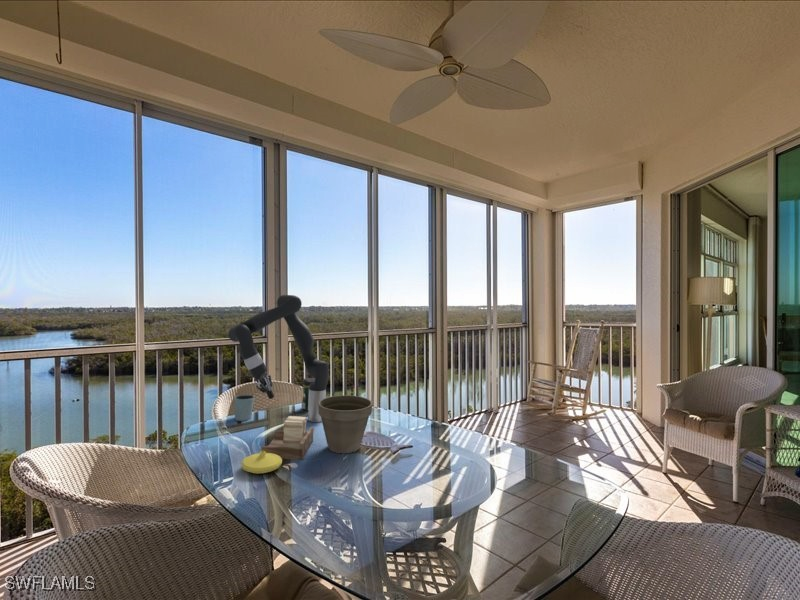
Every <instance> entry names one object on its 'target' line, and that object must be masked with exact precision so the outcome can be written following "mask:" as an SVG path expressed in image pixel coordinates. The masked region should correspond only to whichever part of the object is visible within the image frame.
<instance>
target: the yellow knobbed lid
mask: <svg viewBox="0 0 800 600" xmlns="http://www.w3.org/2000/svg"><path fill="white" fill-rule="evenodd" d="M282 463H283V459H281V457H280V456H278V455H276V454H273V453H265V451H261V450H260V451H259V453H258V452H257V453H254V454H251V455H250V454H249V455H247V456H246V457H245V458H244V459H243V460H242V461H241V463H240V464H241V467H242V470H244V471H246V472H248V473H251V474H256V475H257V474H258V475H259V474H260V475H261V474H267V473H270V472H273V471H276V470H277V469H279V468H280V467H281V466H282Z"/></svg>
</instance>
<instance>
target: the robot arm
mask: <svg viewBox="0 0 800 600" xmlns="http://www.w3.org/2000/svg"><path fill="white" fill-rule="evenodd" d="M276 303H277V304H276V305H277V306H275V307H273V308H271V309H267V310H265V311H262V312H259V313H257V314H255V315H254V316H252V317H250V318H248V319H247V320H245V321H243V322H240V323H239V324H237V325H235V326H233V327H231V328H230V329H229V331H228V332H227V333H228V334H227V335H228V339H229V340H230V341H232V342H233V343H234V342H235V343H238V342H239V345H240V347H239V348H238V351H239V354H240V356H241V358H242V359H243V361H244V365H245V367H246V369H247V371H248V372H249V374H250V377H251V378H253V379H254V378H255V379H256V381H255V382H256V383H257V384H256V389H257V390H259V391H260V392H262V393H263V394H264V393H265V394H266V395H267V397H268V399H269V400H272V399H274V398H275V394H274V392H273V389H272V387H273V381H272V377H271V374H269V375H268V373H267V372H268V368H267V366H266V364H265V362H264V360H263V358H262V357H261V355H260V354H259V352H258V350H257V348H256V346H255V343H254V338H253V334H254V333H257V332H258V331H261V330H262V329H264V328H265V327H267V326H269V325H270V324H272V323H275V322H277V321H278V320H279V321H280V320H281V319H284V321H285V323H286V325H287V326H288V329H289V331H290V333H291V335H292V337H293V339H294V340H293V341H294V342H295V344H296V346H297V348H298V350H299V352H300V355H301V358H302V360H303V363H304V365H305V369H306V372H307V373H308V374H309V376H311V377H313V378H315V382H314V383H311V384H310V385H309V401H308V410H307V422H311V423H322V419H321V416H320V415H319V410H318V403H319V401H320V400H322V399H324V398H327V397H326V396H327V395H326V394H327V386H328V382H329V374H330V372H329V370H330V368H329V364H328V362H326V361H324V360H320V359H318V358H317V357H316V356H315V352H314V345H315V344H314V343H315V341H314V337H313V334H312V333H311V330H310V329H309V327H308V326H307V324H305V322H304V321H302V320H301V319H300V317H299V316H298V315H297V312H299V311H300V310H301V308H302V305H303V304H302V300H301V298H300V297H299V296H297V295H293V294H281V295H280V296H279V297H278V298H277V301H276Z"/></svg>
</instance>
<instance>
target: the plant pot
mask: <svg viewBox="0 0 800 600" xmlns="http://www.w3.org/2000/svg"><path fill="white" fill-rule="evenodd" d="M318 410H319V415H320V416H321V419H322V422H321V423H322V426H323V431H324V436H325V440H326V445H327V447H328V449H329V451H330V452H332V453H335V452H336V454H340V453H345V454H346V453H347V454H352V452H353V453H355V452H357V451H359V450H360V448H361V445H362V442H363V438H364V435H365V432H366V428H367V424H368V421H369V418H370V416H371V415H372V411H373V401H372V400H371V399H369V398H366V397H365V396H359V395H358V396H357V395H351V394H348V395H347V394H346V395H332V396H327V397H326V398H324V399H322V400H320V401H319V403H318ZM345 454H344V455H345Z"/></svg>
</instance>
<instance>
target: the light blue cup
mask: <svg viewBox="0 0 800 600" xmlns="http://www.w3.org/2000/svg"><path fill="white" fill-rule="evenodd" d="M233 401H234V419H235V421H237V422H246V421H245V420H247V421H250V420H251V419H252V418H253V417H252V416H253V415H252V414H253V408H254V407H253V406H254V401H255V396H254V395H252V394H238V395H235V396H234V399H233ZM249 419H250V420H249Z"/></svg>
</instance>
